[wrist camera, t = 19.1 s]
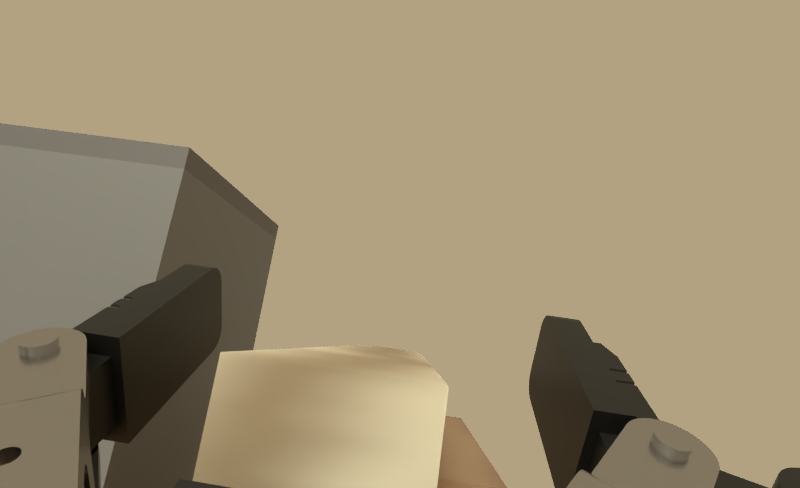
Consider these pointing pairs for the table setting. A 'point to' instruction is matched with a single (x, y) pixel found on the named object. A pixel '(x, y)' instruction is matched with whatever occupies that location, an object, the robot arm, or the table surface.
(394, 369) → the birch bar
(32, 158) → the charcoal pedestal
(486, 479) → the block
